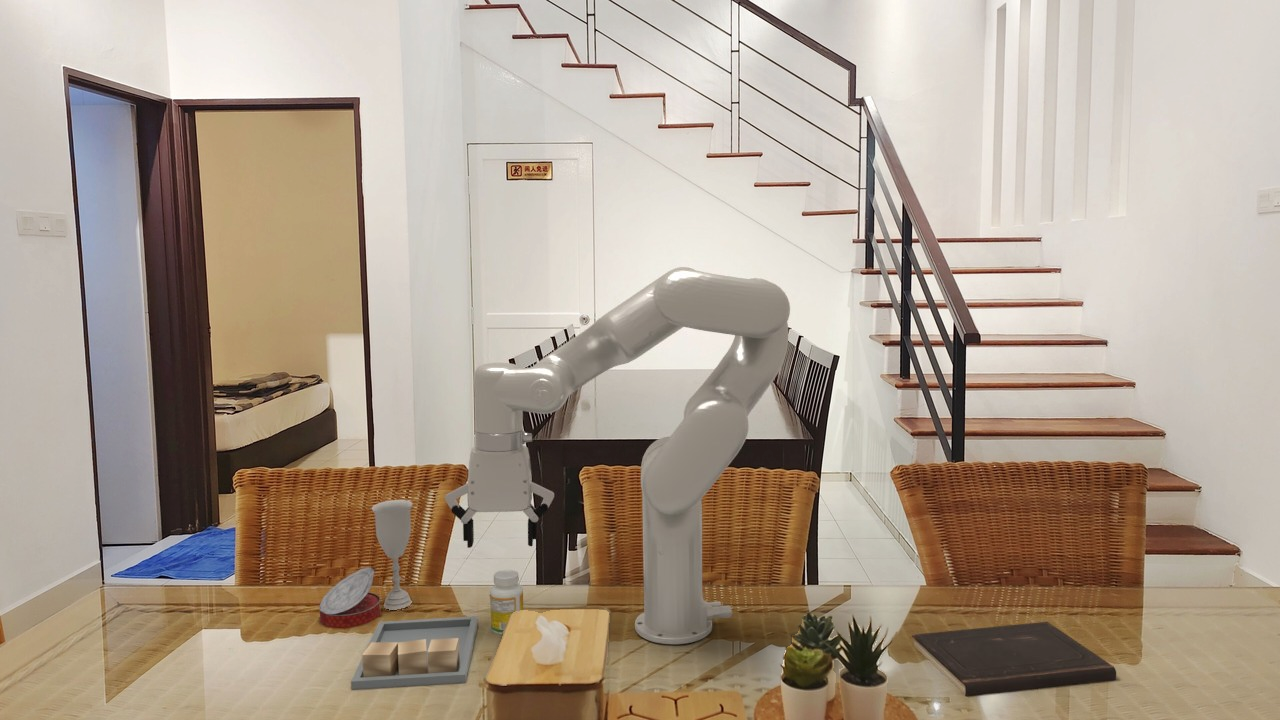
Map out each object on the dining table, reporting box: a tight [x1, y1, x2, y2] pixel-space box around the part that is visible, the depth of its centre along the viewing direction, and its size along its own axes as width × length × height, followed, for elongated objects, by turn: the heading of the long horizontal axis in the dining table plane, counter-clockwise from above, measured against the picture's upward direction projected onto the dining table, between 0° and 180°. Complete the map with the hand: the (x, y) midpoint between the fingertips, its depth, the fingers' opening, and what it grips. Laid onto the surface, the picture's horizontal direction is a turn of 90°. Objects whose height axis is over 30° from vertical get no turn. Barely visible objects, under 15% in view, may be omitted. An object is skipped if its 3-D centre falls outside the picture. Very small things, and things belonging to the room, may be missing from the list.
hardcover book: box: [911, 621, 1117, 697], centre depth 131 cm, size 16×23×2 cm
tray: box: [350, 615, 479, 691], centre depth 135 cm, size 16×20×2 cm
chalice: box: [371, 499, 413, 611], centre depth 154 cm, size 7×7×18 cm
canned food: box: [318, 566, 382, 629], centre depth 150 cm, size 11×10×10 cm
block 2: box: [398, 639, 428, 675], centre depth 129 cm, size 4×4×4 cm
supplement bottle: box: [489, 569, 525, 635], centre depth 144 cm, size 5×5×10 cm
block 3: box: [427, 638, 460, 673], centre depth 130 cm, size 4×4×4 cm
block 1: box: [361, 642, 399, 677], centre depth 129 cm, size 4×4×4 cm
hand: (500, 544), depth 143 cm, fingers open, 9 cm apart
